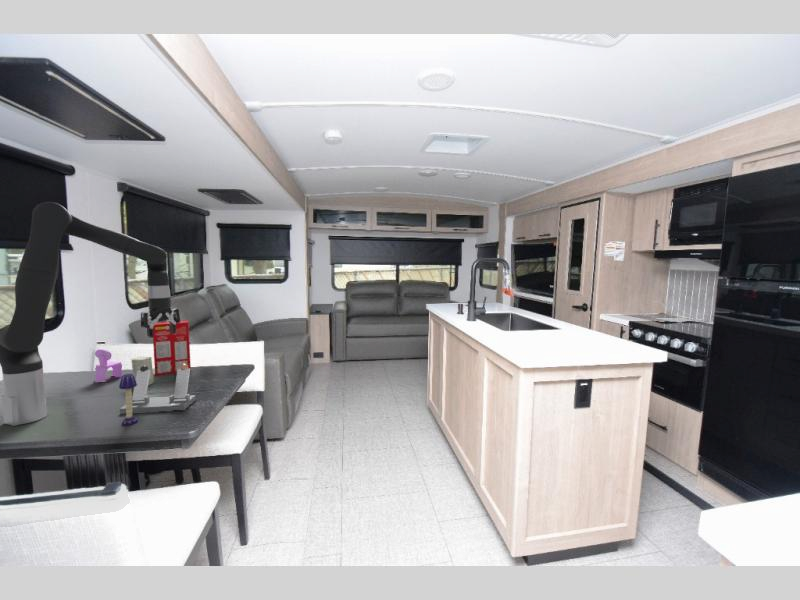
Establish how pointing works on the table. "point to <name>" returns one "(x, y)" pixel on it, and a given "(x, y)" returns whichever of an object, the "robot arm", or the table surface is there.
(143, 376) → the black knob lever
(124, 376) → the toy lamp
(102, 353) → the toy chair
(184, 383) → the copper knob lever
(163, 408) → the switch panel
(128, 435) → the table surface
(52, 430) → the table surface
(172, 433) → the table surface
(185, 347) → the food packaging
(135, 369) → the skincare box
